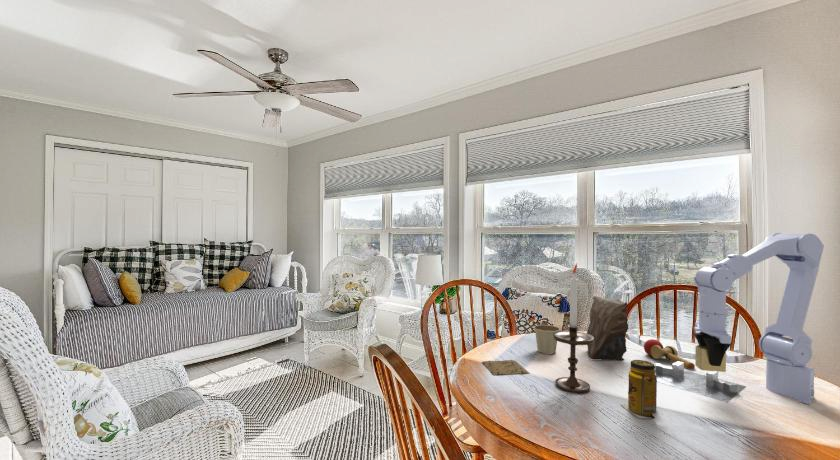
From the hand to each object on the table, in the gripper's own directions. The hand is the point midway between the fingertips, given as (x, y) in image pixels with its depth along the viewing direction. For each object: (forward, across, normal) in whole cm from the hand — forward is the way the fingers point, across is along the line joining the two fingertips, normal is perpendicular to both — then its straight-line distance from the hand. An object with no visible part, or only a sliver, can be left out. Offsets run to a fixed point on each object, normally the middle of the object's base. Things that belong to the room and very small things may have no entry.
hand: (711, 362), depth 105 cm
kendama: (+9, -27, -1) cm, 29 cm away
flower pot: (+9, -28, -40) cm, 50 cm away
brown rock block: (+9, -28, -21) cm, 36 cm away
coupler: (+2, 0, 0) cm, 2 cm away
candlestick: (+9, +3, -36) cm, 37 cm away
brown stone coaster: (+10, -7, -54) cm, 56 cm away
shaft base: (+9, -8, -1) cm, 12 cm away
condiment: (+9, +14, -20) cm, 27 cm away
